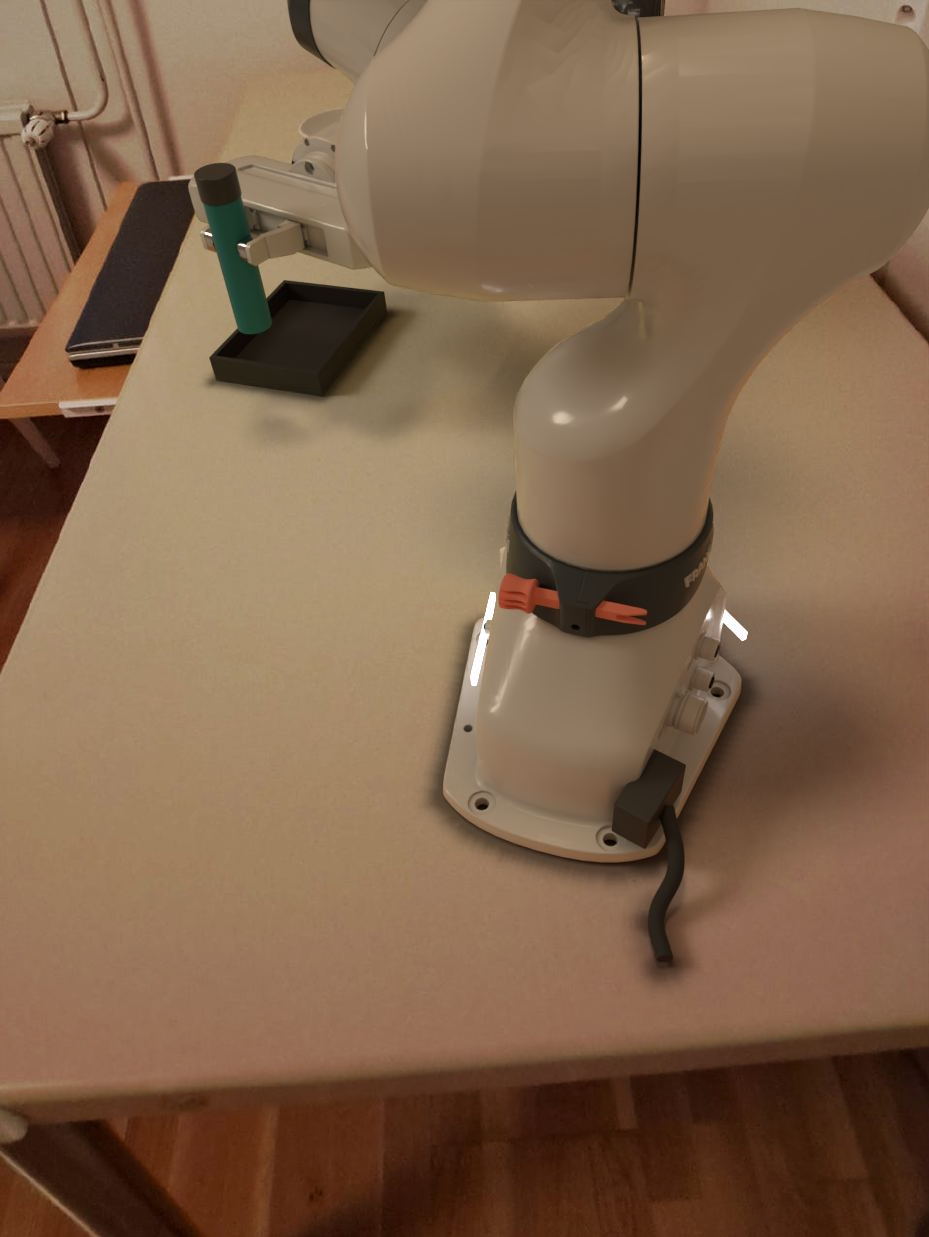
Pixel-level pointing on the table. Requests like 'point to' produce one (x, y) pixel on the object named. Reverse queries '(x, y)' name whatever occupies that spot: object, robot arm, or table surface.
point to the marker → (233, 245)
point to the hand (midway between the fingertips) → (226, 248)
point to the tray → (302, 338)
